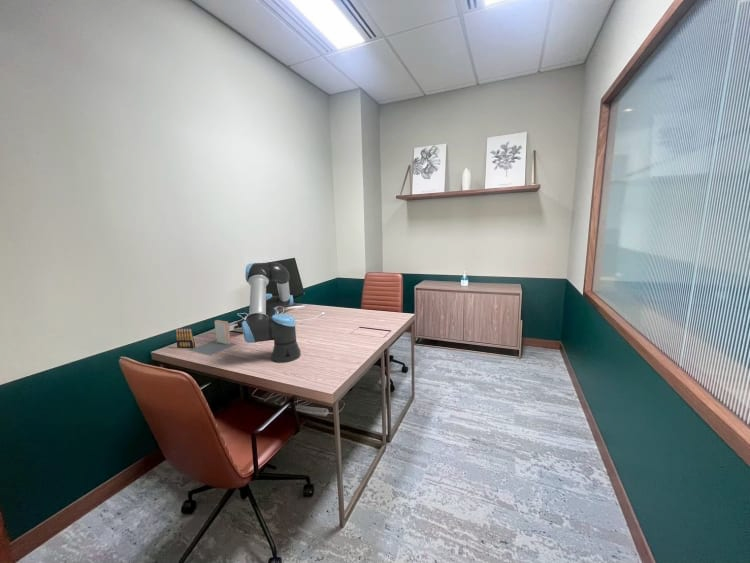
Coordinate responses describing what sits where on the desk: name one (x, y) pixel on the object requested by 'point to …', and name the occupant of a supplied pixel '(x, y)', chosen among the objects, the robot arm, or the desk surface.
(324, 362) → the desk surface
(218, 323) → the pale rectangular block
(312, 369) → the desk surface
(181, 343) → the ammunition clip
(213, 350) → the rubber mat
